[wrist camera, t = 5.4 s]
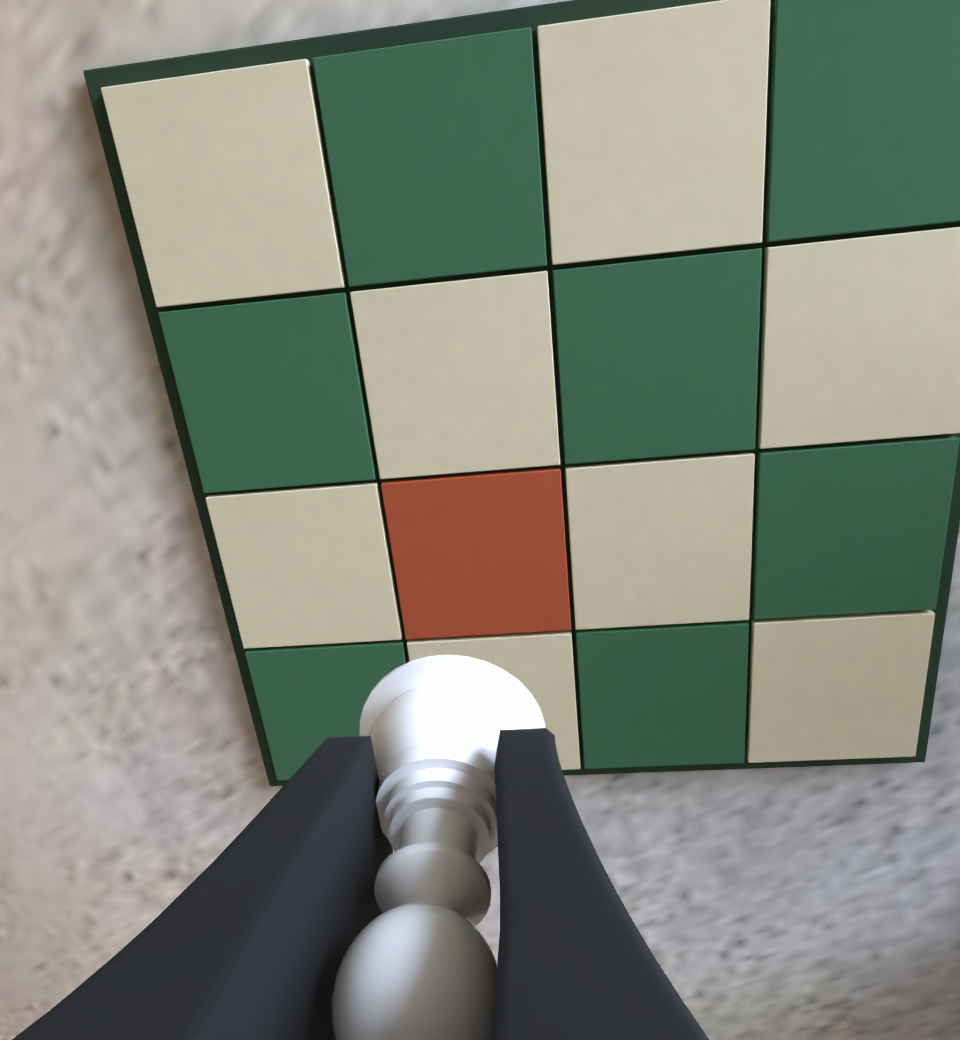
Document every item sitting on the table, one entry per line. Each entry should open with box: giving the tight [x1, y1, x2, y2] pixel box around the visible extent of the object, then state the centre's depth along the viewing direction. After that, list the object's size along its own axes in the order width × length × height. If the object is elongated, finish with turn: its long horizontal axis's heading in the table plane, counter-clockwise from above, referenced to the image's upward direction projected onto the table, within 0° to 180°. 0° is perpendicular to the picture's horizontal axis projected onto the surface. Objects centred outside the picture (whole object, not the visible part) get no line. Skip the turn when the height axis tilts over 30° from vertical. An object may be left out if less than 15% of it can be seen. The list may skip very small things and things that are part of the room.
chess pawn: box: [332, 655, 546, 1040], centre depth 9 cm, size 3×3×5 cm
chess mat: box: [84, 0, 960, 786], centre depth 15 cm, size 17×17×1 cm
